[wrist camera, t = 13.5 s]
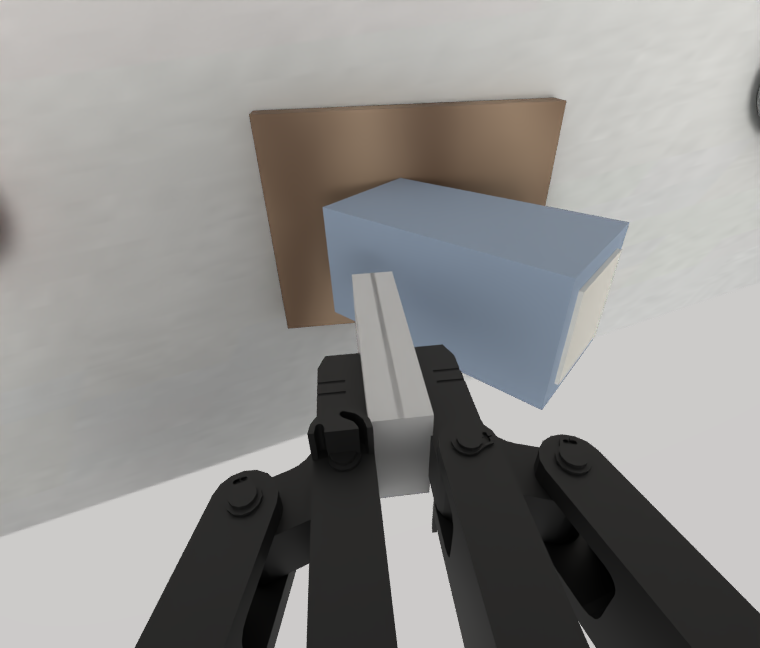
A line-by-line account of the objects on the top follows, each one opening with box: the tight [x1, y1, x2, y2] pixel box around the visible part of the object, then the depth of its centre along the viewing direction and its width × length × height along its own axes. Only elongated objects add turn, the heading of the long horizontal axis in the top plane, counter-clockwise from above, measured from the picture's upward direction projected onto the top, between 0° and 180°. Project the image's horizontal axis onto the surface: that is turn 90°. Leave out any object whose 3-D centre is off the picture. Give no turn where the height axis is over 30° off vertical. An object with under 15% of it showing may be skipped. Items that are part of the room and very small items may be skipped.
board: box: [249, 98, 566, 328], centre depth 22 cm, size 14×11×1 cm
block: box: [323, 178, 629, 410], centre depth 17 cm, size 5×5×10 cm
